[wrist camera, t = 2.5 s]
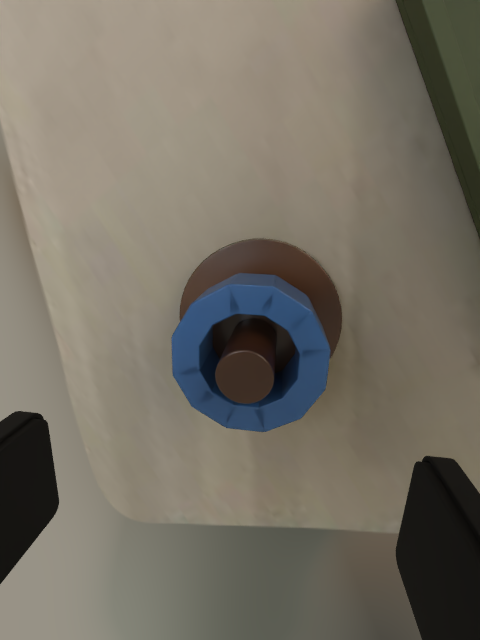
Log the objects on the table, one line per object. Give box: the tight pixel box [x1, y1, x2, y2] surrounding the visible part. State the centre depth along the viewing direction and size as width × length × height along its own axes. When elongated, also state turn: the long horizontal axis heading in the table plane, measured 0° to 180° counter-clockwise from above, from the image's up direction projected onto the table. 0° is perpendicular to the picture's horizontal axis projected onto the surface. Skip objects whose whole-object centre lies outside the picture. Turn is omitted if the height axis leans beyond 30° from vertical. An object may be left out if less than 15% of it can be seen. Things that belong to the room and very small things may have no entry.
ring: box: [172, 273, 331, 432], centre depth 16 cm, size 7×7×3 cm
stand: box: [180, 238, 342, 404], centre depth 17 cm, size 10×10×9 cm
